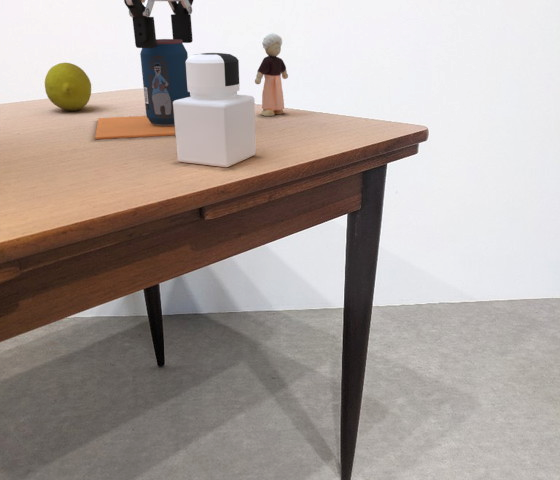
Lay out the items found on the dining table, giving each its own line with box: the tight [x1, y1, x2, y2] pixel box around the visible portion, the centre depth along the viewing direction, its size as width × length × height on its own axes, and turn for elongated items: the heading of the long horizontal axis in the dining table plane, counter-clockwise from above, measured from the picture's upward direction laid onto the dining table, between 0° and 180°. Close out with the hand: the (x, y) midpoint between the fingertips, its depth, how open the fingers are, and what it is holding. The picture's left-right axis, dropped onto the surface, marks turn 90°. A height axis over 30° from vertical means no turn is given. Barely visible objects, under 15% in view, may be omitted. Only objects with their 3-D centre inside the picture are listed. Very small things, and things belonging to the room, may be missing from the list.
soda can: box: [139, 38, 191, 127], centre depth 91 cm, size 7×7×12 cm
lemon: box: [44, 62, 92, 112], centre depth 107 cm, size 11×8×8 cm
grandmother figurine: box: [254, 32, 289, 117], centre depth 100 cm, size 8×4×13 cm, turn 151°
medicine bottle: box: [173, 52, 257, 168], centre depth 71 cm, size 7×7×12 cm
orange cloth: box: [94, 115, 175, 140], centre depth 94 cm, size 22×16×1 cm
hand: (165, 45), depth 89 cm, fingers open, 9 cm apart
